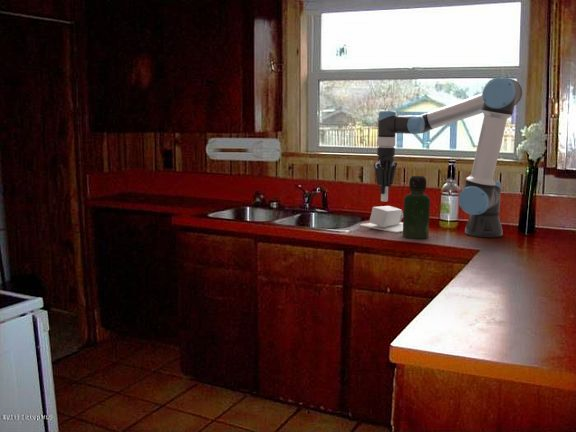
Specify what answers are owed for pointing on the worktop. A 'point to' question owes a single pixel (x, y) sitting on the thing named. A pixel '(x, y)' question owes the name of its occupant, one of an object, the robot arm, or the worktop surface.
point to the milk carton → (386, 216)
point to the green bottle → (416, 210)
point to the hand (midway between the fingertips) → (384, 201)
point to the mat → (388, 228)
